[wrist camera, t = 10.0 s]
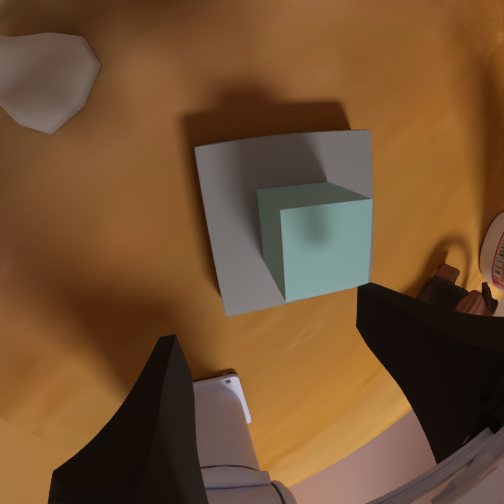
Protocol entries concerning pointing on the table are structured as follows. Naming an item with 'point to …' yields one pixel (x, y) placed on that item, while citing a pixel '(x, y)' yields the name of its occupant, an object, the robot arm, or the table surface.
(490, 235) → the fruit juice
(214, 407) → the robot arm
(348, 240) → the teal block
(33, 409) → the table surface
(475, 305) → the brown broken pot
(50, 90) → the flask
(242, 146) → the gray base
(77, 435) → the table surface
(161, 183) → the table surface
